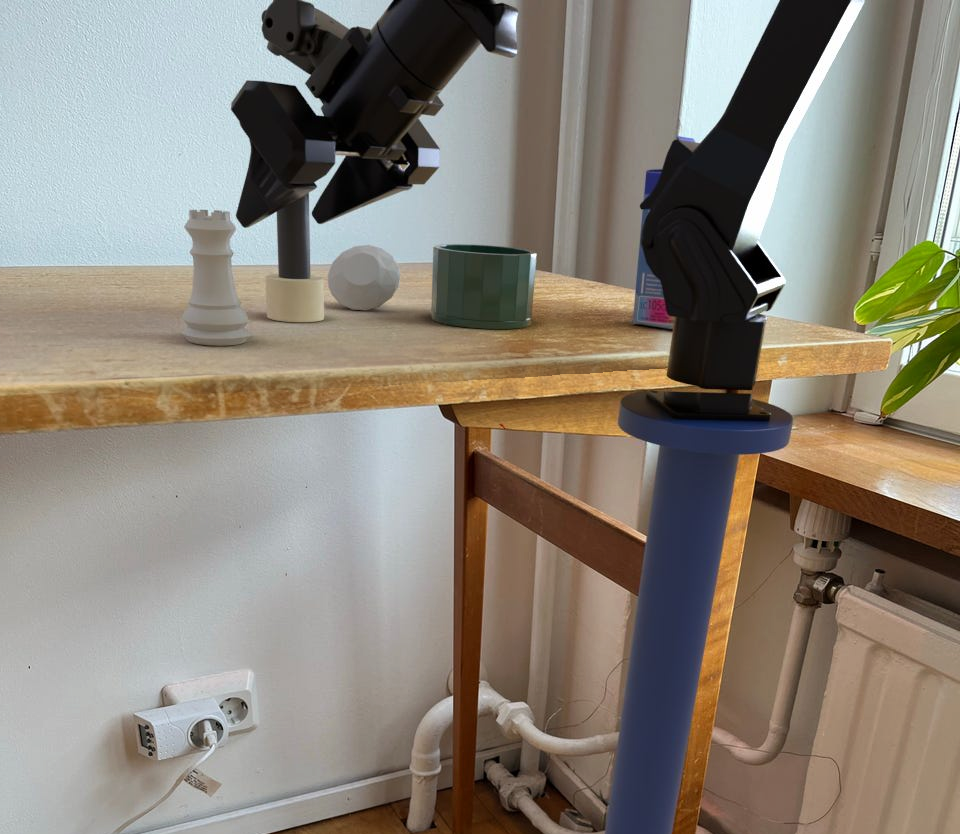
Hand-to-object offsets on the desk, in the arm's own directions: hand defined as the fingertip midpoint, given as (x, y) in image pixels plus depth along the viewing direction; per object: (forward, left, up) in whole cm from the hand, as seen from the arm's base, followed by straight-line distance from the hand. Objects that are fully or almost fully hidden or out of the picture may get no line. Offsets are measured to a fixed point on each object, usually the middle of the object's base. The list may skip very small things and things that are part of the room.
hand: (280, 220), depth 74 cm
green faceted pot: (+1, -16, -7) cm, 17 cm away
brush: (-1, -1, -7) cm, 7 cm away
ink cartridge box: (+4, -34, -7) cm, 35 cm away
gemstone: (+7, -7, -7) cm, 12 cm away
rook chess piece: (-12, +4, -7) cm, 14 cm away
